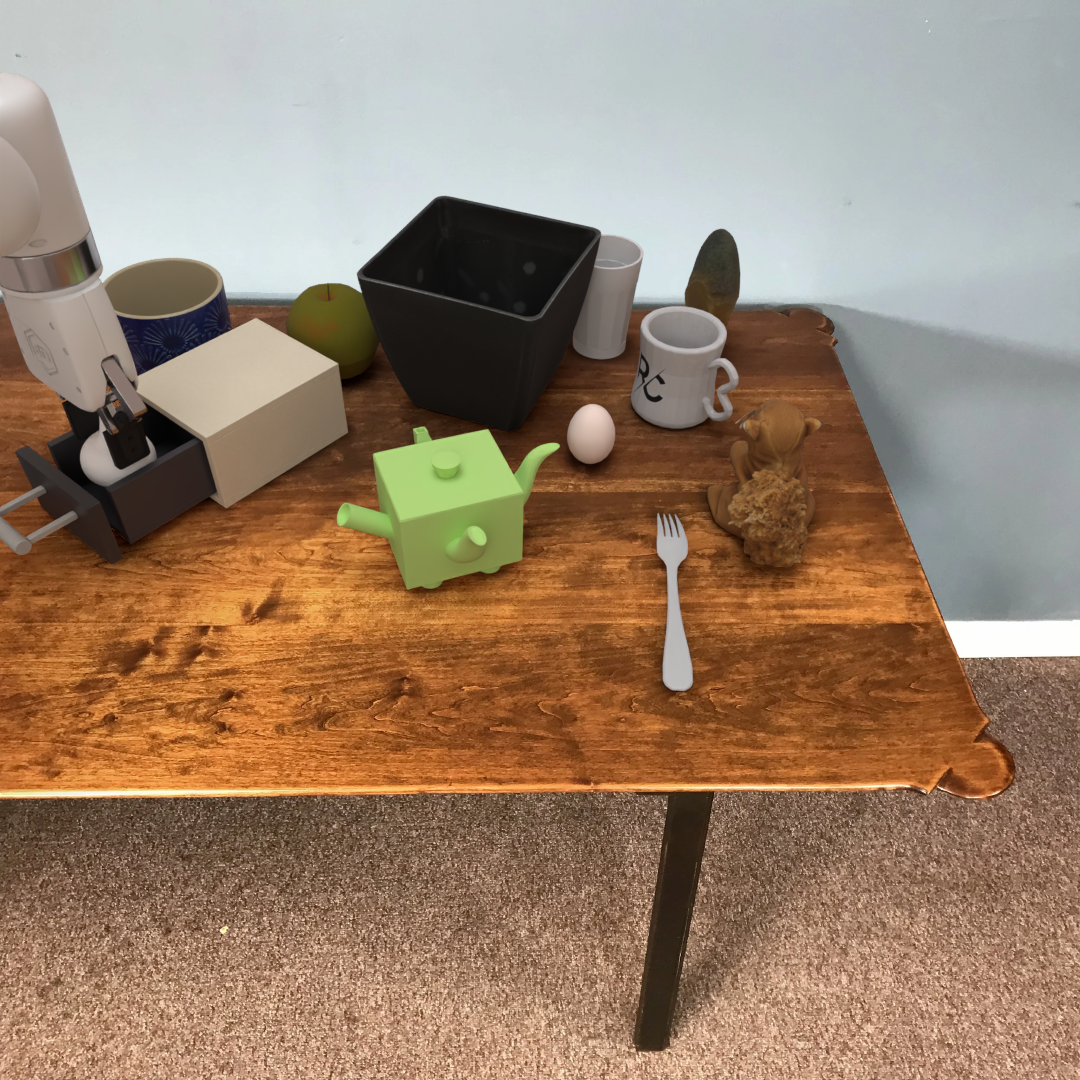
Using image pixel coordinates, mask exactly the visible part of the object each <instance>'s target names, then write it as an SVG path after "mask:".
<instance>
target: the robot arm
mask: <svg viewBox="0 0 1080 1080" xmlns="http://www.w3.org/2000/svg"><path fill="white" fill-rule="evenodd" d="M103 271H104V265H103V262H102V259H101V255H100V253H99V250H98V247H97V243H96V240H95V237H94V234H93V231H92V228H91V225H90V221H89V219H88V216H87V212H86V209H85V206H84V203H83V199H82V197H81V194H80V191H79V187H78V184H77V180H76V178H75V175H74V172H73V169H72V166H71V161H70V159H69V156H68V153H67V149H66V147H65V143H64V141H63V137H62V134H61V131H60V127H59V125H58V121H57V119H56V115H55V112H54V110H53V107H52V104H51V102H50V99H49V96H48V95H47V93H46V92H45V91H44V89H43V88H42V87H41V86H40V85H39V84H38V83H37V82H35V81H34V80H32V79H30V78H28V77H26V76H24V75H21V74H17V73H10V72H1V71H0V291H1V296H2V299H3V302H4V306H5V309H6V312H7V315H8V318H9V321H10V323H11V326H12V329H13V332H14V334H15V338H16V341H17V343H18V346H19V349H20V352H21V354H22V357H23V360H24V362H25V364H26V367H27V369H28V370H29V372H30V373H31V374H32V375H33V376H34V377H36V379H38V380H39V381H40V382H42V383H43V384H44V385H45V386H47V387H48V388H50V390H52V391H54V392H55V393H56V395H57V397H58V398H59V399H60V400H61V401H62V402H61V405H62V408H63V410H64V413H65V415H66V418H67V421H68V423H69V425H70V428H71V430H72V431H73V433H74V436H75V437H76V438H77V439H79V440H84V439H86V438H88V437H90V436H91V435H92V434H94V433H95V432H97V431H99V425H100V421H99V416H100V418H101V420H102V422H103V424H104V426H105V428H106V430H105V431H103V432H102V433H103V436H104V438H105V441H106V444H107V446H108V449H109V452H110V455H111V457H112V460H113V463H114V465H115V467H117V468H118V469H119V470H123V469H125V468H126V467H128V466H130V465H132V464H134V463H136V462H138V461H139V460H141V459H143V458H145V457H147V456H148V455H149V454H150V448H149V445H148V442H147V439H146V436H145V433H144V430H143V427H142V424H141V421H142V415H144V414H145V413H146V412H147V408H146V406H145V404H144V403H143V401H142V400H141V398H140V397H139V395H138V394H137V392H136V391H137V389H138V385H139V382H138V376H137V372H136V368H135V365H134V362H133V358H132V355H131V352H130V350H129V347H128V344H127V341H126V339H125V336H124V333H123V331H122V328H121V326H120V323H119V320H118V318H117V316H116V313H115V311H114V308H113V306H112V304H111V301H110V299H109V297H108V295H107V292H106V290H105V288H104V286H103V284H102V283H103V282H102V280H101V278H100V277H101V276H102V274H103ZM108 388H109V389H110V391H108V392H107V389H108ZM117 401H118V403H119V404H120V405H121V407H122V408H121V410H120V411H118V412H116V413H115V415H114V416H113V417H112V416H111V414H110V412H109V410H108V408H107V405H109V404H111V403H113V404H114V403H115V402H117Z"/></svg>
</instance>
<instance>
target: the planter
mask: <svg viewBox="0 0 1080 1080" xmlns="http://www.w3.org/2000/svg"><path fill="white" fill-rule="evenodd" d="M102 284H103V286H104V288H105V290H106V292H107V295H108V297H109V299H110V301H111V304H112V306H113V308H114V311H115V313H116V316H117V318H118V320H119V323H120V326H121V328H122V331H123V333H124V336H125V339H126V341H127V344H128V347H129V350H130V352H131V355H132V358H133V362H134V365H135V368H136V372H137V376H139V375H141V374H143V373H145V372H147V371H149V370H151V369H153V368H155V367H157V366H160V365H162V364H164V363H166V362H168V361H170V360H172V359H174V358H176V357H178V356H180V355H182V354H184V353H186V352H188V351H190V350H192V349H194V348H196V347H198V346H200V345H202V344H204V343H206V342H208V341H210V340H212V339H214V338H216V337H218V336H220V335H223V334H225V333H227V332H229V331H231V330H233V329H232V328H233V327H232V319H231V314H230V309H229V305H228V304H229V303H228V300H227V294H226V289H225V285H224V279H223V276H222V274H221V272H219V270H217V268H215V267H214V266H212V265H210V264H208V263H206V262H203V261H200V260H196V259H191V258H185V257H161V258H154V259H149V260H143V261H139V262H136V263H133V264H131V265H128V266H126V267H125V266H124V267H122V268H120V269H119V270H117V271H115V272H114V273H112V274H110V276H108V277H106V279H105V280H104V281H103V282H102Z"/></svg>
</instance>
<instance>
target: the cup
mask: <svg viewBox="0 0 1080 1080" xmlns="http://www.w3.org/2000/svg"><path fill="white" fill-rule="evenodd" d="M643 259H644V250H643V248H642V247H641V245H640V244H639V243H637V242H636V241H634V240H633V239H630V238H629V237H625V236H621V235H618V234H617V235H616V234H609V233H608V234H607V233H601V239H600V244H599V248H598V252H597V256H596V260H595V264H594V268H593V272H592V276H591V280H590V283H589V287H588V290H587V293H586V297H585V300H584V303H583V306H582V309H581V312H580V315H579V318H578V321H577V324H576V326H575V329H574V332H573V334H572V347H573V349H574V350H575V351H576V352H577V353H578V354H580V355H582V357H583V356H584V357H586V358H590V359H594V360H595V359H596V360H609V359H613V358H616V357H619V356H621V355H622V354H623V353H624V352H625V350H626V345H627V335H628V331H629V326H630V320H631V315H632V310H633V305H634V300H635V295H636V290H637V286H638V284H637V283H638V281H639V277H640V273H641V268H642V264H643Z"/></svg>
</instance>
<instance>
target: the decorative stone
mask: <svg viewBox="0 0 1080 1080" xmlns="http://www.w3.org/2000/svg"><path fill="white" fill-rule="evenodd" d="M740 291H741V264H740V254H739V249H738V245H737V242H736V241H735V238H734V235H732V233H730V231H729V230H727V229H726V228H718V229H717V228H716V229H714V230H713V231H712V232H711V233H710V234H709V235H708V236H707V237H706V238H705V240H704V241H703V243H702V245H701V247H700V248H699V250H698V252H697V255H696V257H695V261H694V264H693V267H692V269H691V272H690V275H689V278H688V282H687V285H686V287H685V290H684V304H685V307H691V308H696V309H699V310H703V311H705V312H707V313H710V314H712V315H713V316H715V317H716V318H718V319H719V320H720V321H721V322H722V323H723V324H724V326H725V327H726V326H727V325H729V320H730V317H731V315H732V313H733V311H734V308H735V306H736V305H737V302H738V300H739V298H740Z"/></svg>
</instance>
